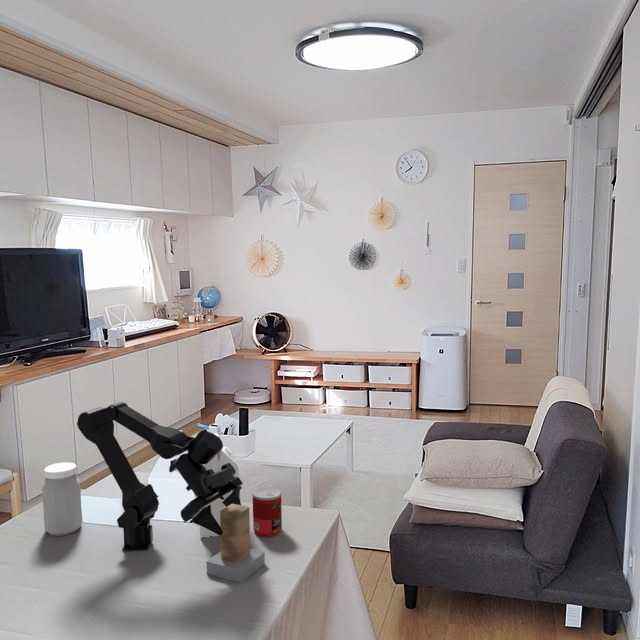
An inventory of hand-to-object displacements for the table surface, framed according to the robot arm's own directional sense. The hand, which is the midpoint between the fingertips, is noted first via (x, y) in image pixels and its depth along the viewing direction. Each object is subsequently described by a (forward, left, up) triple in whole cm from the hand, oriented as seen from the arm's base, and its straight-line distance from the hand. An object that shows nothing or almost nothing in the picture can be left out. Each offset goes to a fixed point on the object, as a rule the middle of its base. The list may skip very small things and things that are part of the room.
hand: (233, 526), depth 147 cm
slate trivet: (0, 0, -10) cm, 10 cm away
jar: (-50, +25, -11) cm, 56 cm away
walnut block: (0, 0, -7) cm, 8 cm away
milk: (-7, +24, -11) cm, 27 cm away
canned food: (+7, +20, -11) cm, 24 cm away
